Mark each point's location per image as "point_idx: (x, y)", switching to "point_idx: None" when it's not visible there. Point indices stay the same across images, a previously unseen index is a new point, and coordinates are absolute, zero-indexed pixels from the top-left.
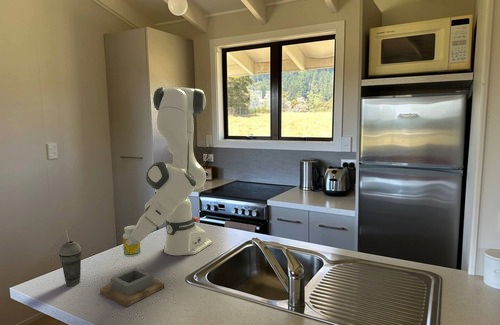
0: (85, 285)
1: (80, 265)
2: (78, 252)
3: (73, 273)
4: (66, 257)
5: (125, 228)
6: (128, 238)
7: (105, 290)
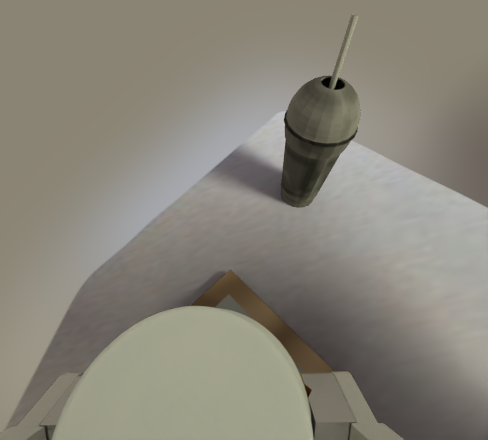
0: (283, 224)
1: (315, 177)
2: (312, 138)
3: (286, 176)
4: (285, 121)
5: (126, 336)
6: (56, 412)
7: (215, 289)
